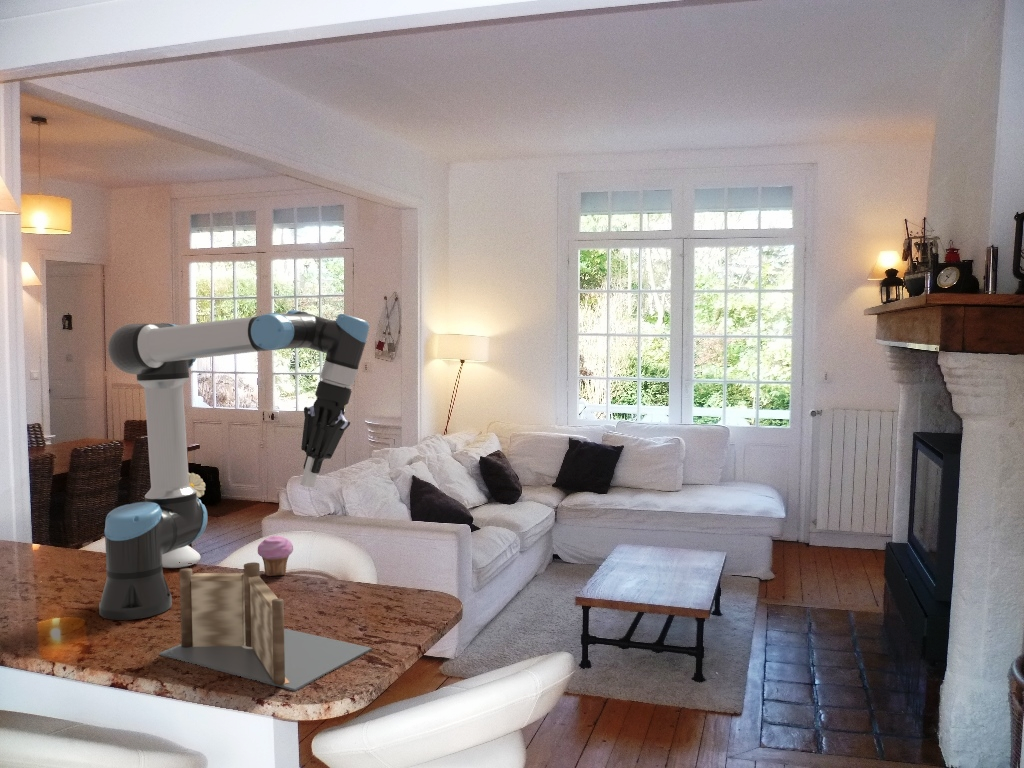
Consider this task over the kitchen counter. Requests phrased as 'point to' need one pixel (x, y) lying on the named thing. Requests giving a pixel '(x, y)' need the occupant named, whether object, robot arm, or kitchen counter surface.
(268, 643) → the fence panel
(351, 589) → the kitchen counter surface
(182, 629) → the wooden fence section
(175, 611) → the kitchen counter surface
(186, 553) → the flower in vase
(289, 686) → the card
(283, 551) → the cupcake
